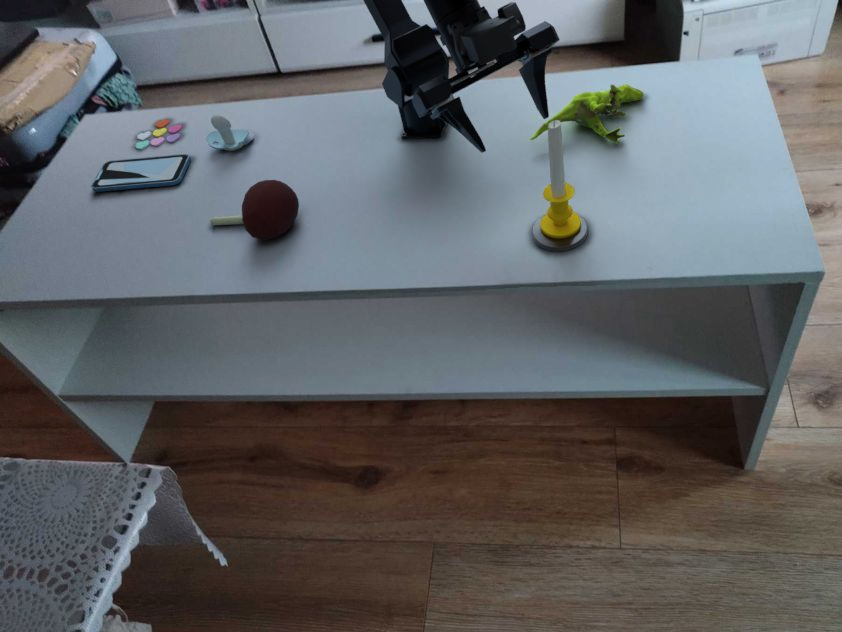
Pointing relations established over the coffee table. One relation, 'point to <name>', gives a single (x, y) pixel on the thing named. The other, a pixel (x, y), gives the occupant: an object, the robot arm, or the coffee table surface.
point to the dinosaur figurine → (595, 109)
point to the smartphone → (141, 172)
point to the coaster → (562, 243)
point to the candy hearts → (159, 135)
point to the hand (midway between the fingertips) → (515, 134)
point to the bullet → (226, 220)
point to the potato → (269, 209)
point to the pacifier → (227, 135)
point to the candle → (558, 191)
